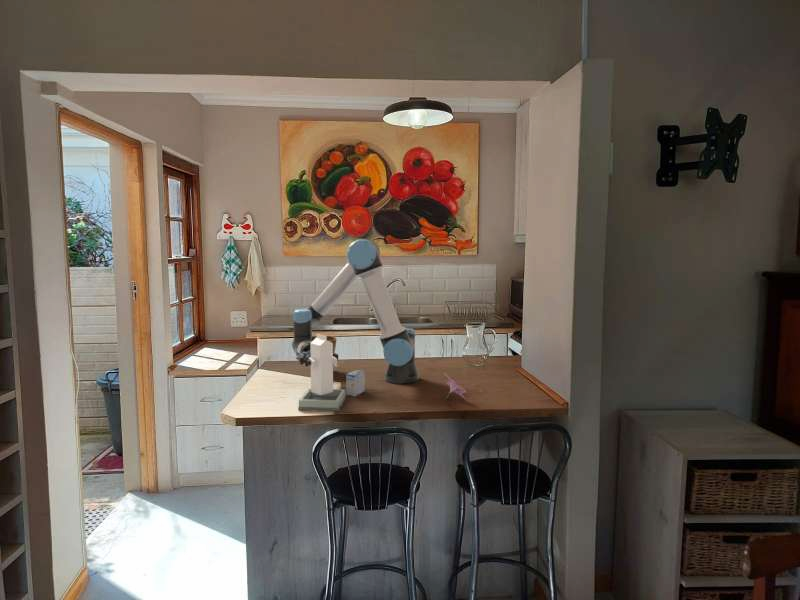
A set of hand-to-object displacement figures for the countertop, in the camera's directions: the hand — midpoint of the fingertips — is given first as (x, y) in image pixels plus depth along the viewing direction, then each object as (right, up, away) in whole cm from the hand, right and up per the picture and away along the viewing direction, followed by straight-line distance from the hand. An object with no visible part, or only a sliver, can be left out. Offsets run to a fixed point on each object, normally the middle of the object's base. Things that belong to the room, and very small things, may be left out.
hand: (325, 363), depth 187 cm
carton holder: (-2, -16, +6) cm, 17 cm away
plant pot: (-10, -11, +54) cm, 56 cm away
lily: (+49, -16, +13) cm, 53 cm away
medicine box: (+9, -15, +20) cm, 27 cm away
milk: (-2, -12, +6) cm, 13 cm away
